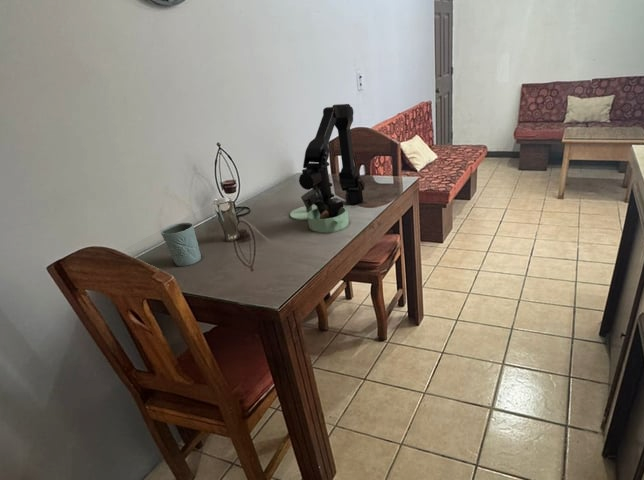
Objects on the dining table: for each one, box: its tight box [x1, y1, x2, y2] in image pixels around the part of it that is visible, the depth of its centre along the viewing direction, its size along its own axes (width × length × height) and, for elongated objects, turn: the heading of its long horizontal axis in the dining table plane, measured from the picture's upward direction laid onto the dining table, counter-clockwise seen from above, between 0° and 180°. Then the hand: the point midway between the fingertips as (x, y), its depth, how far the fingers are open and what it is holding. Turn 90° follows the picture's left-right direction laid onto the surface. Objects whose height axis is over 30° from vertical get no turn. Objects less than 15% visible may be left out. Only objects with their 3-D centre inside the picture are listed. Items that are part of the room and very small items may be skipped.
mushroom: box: [320, 210, 330, 219], centre depth 161 cm, size 8×8×6 cm
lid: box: [289, 204, 317, 221], centre depth 173 cm, size 16×16×6 cm
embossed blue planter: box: [160, 222, 202, 267], centre depth 143 cm, size 10×10×12 cm
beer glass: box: [212, 196, 242, 243], centre depth 156 cm, size 7×7×15 cm
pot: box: [307, 206, 350, 234], centre depth 161 cm, size 15×21×5 cm
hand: (328, 221), depth 161 cm, fingers closed on mushroom, 8 cm apart
